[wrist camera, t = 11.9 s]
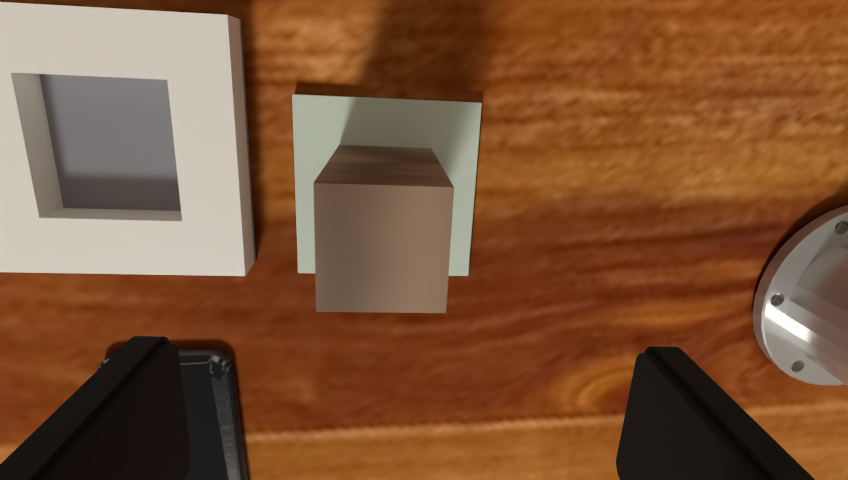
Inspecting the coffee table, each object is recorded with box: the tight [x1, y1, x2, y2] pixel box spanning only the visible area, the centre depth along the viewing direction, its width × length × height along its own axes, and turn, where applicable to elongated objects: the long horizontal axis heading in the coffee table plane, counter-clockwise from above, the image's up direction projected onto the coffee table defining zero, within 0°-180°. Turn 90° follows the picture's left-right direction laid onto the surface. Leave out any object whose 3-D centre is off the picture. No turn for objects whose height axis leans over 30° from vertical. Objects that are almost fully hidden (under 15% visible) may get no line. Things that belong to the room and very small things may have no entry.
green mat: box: [292, 94, 482, 276], centre depth 28 cm, size 10×10×1 cm
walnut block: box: [313, 145, 454, 313], centre depth 23 cm, size 5×5×10 cm
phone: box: [98, 349, 248, 480], centre depth 33 cm, size 8×1×15 cm
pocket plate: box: [0, 2, 256, 276], centre depth 26 cm, size 13×13×2 cm
